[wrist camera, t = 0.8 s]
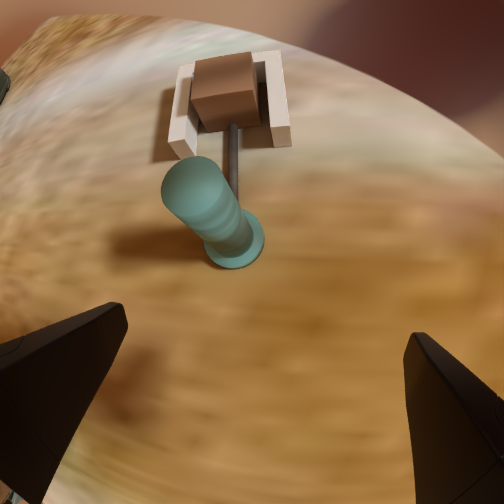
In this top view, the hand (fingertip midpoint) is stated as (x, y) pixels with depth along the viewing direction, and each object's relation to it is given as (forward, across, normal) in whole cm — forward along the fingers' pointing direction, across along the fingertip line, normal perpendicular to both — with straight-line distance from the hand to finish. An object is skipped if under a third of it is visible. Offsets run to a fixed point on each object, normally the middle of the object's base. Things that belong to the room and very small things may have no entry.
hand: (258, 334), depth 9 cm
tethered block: (+19, +5, -2) cm, 20 cm away
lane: (+22, +6, -7) cm, 24 cm away
